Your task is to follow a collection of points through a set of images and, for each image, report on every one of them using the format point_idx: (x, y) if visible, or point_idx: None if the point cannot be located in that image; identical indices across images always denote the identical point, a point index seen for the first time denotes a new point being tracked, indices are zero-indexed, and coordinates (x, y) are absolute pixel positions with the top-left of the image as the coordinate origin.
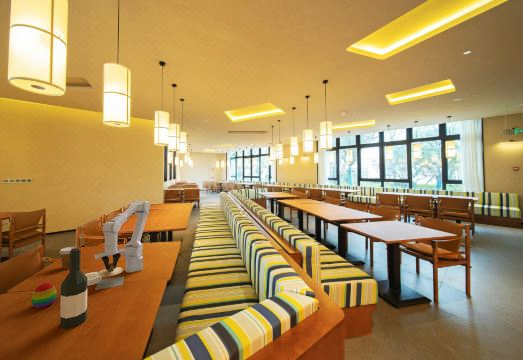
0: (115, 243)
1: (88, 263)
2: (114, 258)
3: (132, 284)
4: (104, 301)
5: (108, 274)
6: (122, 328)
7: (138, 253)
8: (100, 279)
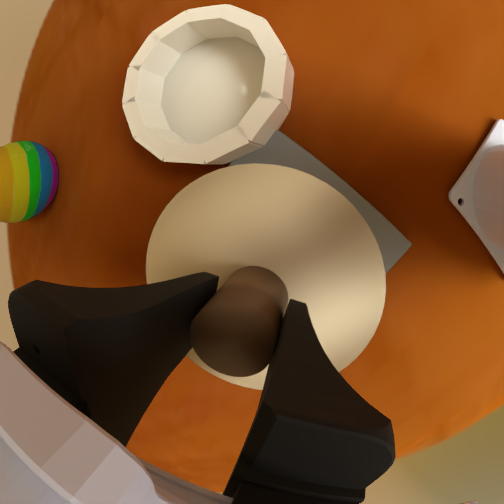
0: None
1: None
2: (248, 434)
3: (343, 376)
4: None
5: (192, 353)
6: (156, 465)
7: None
8: (255, 148)
